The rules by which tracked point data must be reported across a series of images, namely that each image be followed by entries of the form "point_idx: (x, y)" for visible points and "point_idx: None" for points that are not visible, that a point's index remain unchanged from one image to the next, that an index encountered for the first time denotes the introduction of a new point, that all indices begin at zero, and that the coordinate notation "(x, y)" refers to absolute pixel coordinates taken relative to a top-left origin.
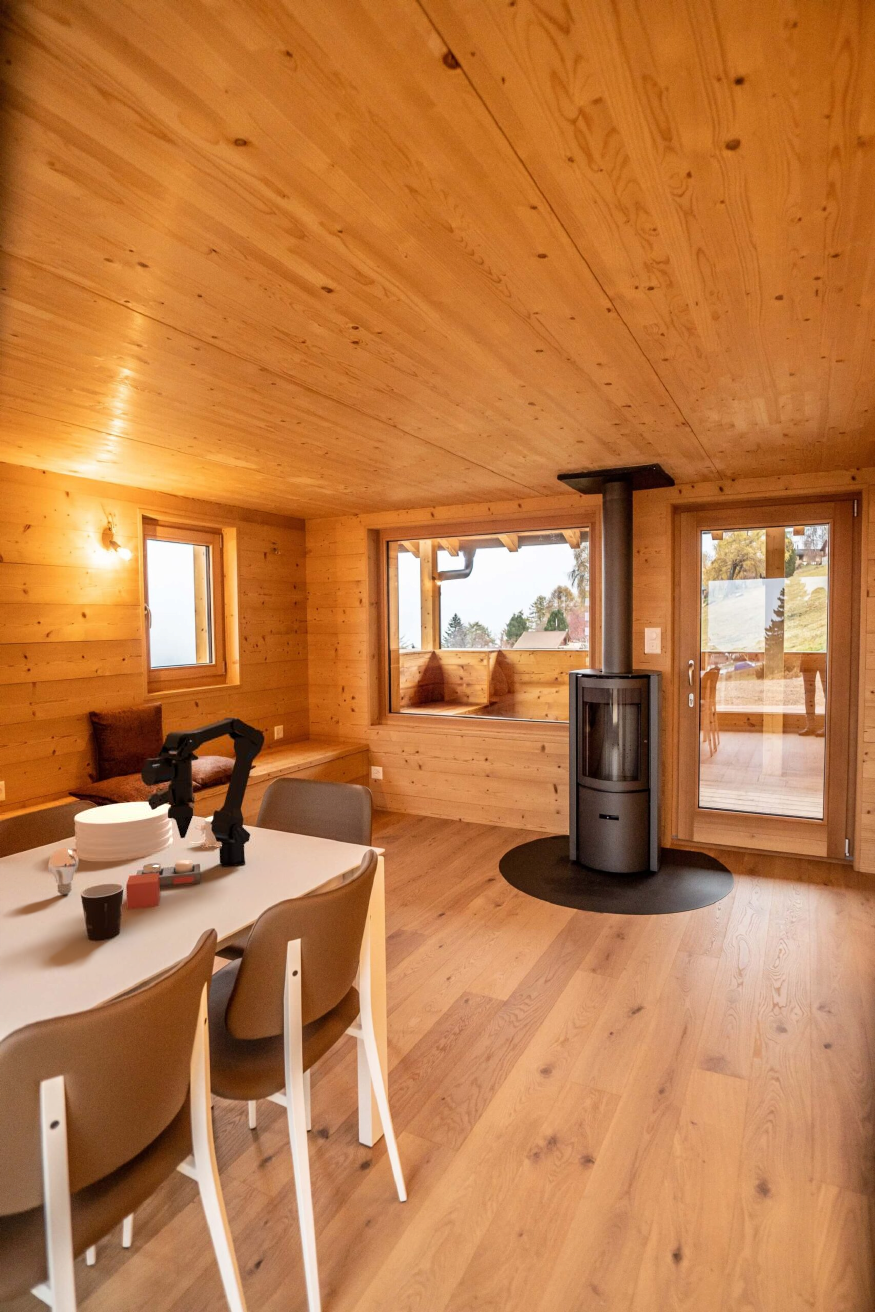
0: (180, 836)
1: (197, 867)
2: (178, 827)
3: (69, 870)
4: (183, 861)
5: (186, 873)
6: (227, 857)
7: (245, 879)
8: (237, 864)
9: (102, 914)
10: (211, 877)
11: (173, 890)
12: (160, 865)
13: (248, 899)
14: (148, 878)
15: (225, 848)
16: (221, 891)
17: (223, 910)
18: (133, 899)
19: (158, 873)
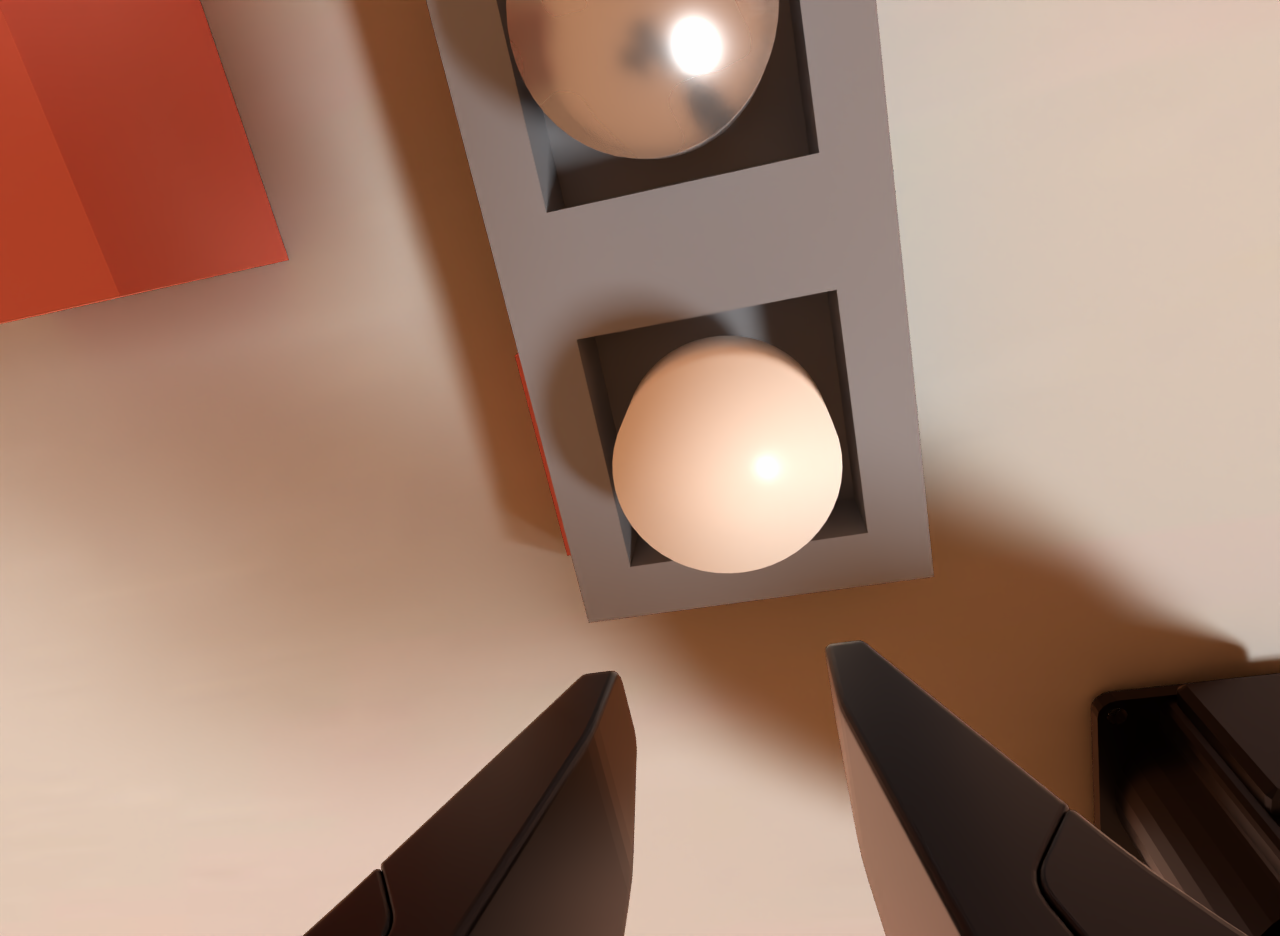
0: (564, 697)
1: (782, 575)
2: (395, 875)
3: None
4: (772, 459)
5: (573, 496)
6: (1168, 800)
7: (669, 889)
8: (1098, 825)
9: None
10: (787, 636)
11: (446, 355)
12: (640, 158)
13: (230, 924)
14: None
15: (1249, 866)
16: (396, 755)
17: (22, 803)
18: None
19: (74, 299)
